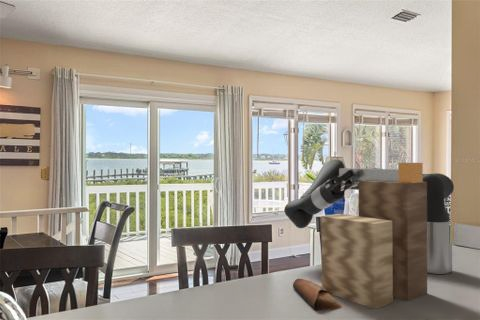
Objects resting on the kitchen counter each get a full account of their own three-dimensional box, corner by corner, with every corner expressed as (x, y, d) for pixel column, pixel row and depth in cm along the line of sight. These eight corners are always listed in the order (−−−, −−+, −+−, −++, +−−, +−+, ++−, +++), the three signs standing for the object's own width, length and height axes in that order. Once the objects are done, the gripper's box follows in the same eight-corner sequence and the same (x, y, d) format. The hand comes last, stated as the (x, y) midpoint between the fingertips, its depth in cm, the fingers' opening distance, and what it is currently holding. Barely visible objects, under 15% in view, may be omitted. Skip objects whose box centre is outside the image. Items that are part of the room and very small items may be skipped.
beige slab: (322, 291, 122) (321, 216, 122) (339, 285, 127) (339, 213, 126) (374, 308, 107) (374, 223, 107) (392, 302, 112) (392, 220, 112)
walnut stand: (359, 286, 126) (358, 180, 125) (378, 280, 132) (378, 179, 131) (407, 300, 113) (407, 183, 113) (427, 293, 119) (426, 181, 119)
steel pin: (337, 179, 135) (337, 162, 135) (348, 178, 138) (348, 162, 138) (411, 183, 114) (411, 163, 114) (422, 182, 117) (422, 162, 117)
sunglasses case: (345, 308, 108) (332, 286, 107) (323, 324, 107) (310, 302, 106) (319, 286, 125) (308, 268, 125) (300, 300, 124) (289, 282, 124)
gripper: (308, 185, 139) (342, 161, 128) (336, 183, 148) (370, 161, 136) (317, 206, 136) (352, 183, 125) (345, 202, 145) (380, 181, 133)
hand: (361, 171), depth 131 cm, fingers open, 8 cm apart
